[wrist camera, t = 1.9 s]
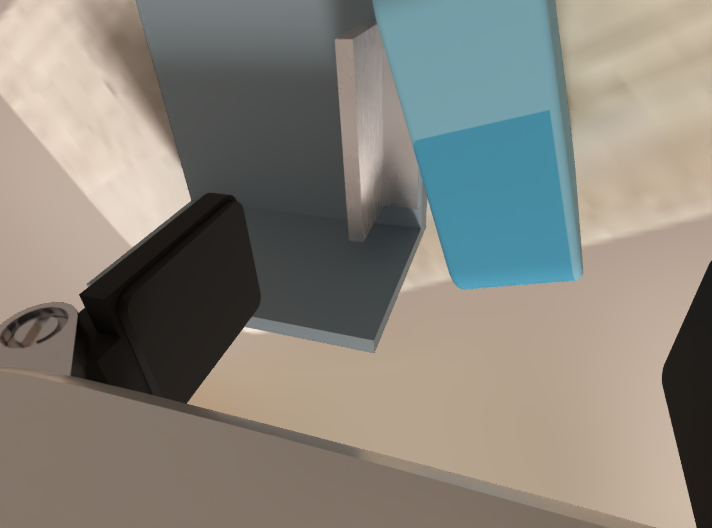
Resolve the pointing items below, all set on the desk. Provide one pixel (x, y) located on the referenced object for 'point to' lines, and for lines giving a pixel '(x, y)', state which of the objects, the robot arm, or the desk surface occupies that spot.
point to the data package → (489, 134)
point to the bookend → (372, 132)
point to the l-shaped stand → (280, 157)
